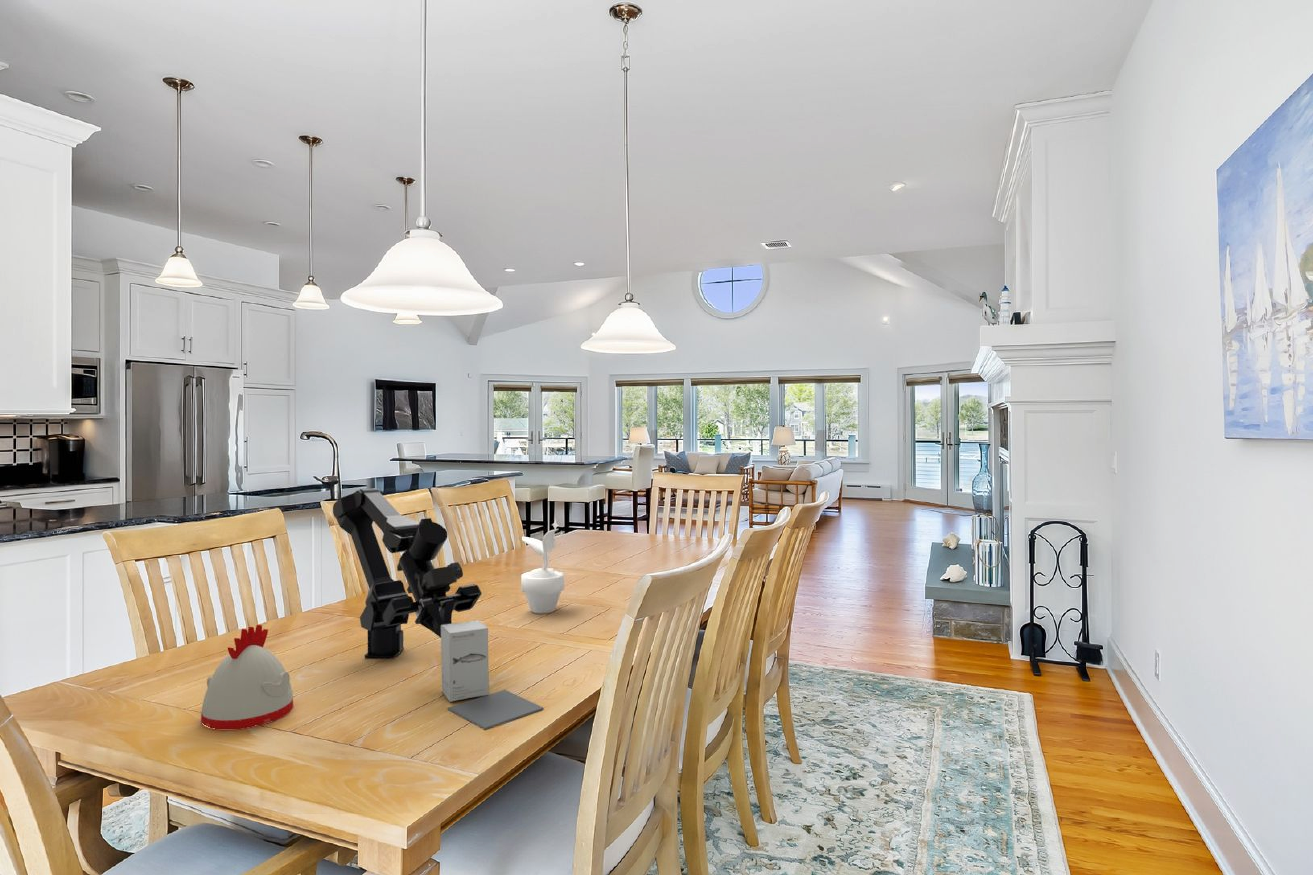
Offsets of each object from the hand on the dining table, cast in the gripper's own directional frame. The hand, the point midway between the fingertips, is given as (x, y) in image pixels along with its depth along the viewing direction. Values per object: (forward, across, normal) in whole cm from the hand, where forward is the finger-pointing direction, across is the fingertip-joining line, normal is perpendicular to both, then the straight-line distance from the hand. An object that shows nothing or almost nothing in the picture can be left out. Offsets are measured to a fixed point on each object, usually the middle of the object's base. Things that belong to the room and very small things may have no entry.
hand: (449, 640), depth 138 cm
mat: (+17, 0, -5) cm, 18 cm away
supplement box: (+10, 0, +2) cm, 11 cm away
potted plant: (-17, +46, +29) cm, 57 cm away
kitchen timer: (-3, -31, +16) cm, 35 cm away
